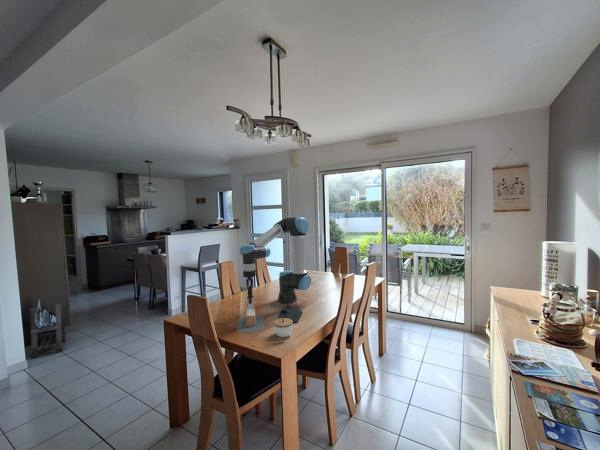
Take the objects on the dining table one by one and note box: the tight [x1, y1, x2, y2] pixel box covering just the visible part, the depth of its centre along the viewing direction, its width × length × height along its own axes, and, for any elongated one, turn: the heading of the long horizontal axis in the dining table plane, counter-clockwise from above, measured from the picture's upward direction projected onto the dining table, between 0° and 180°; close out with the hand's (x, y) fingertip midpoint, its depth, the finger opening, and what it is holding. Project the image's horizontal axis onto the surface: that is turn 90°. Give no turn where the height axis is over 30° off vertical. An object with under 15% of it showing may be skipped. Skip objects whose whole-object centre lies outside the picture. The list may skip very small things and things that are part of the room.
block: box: [245, 308, 256, 326], centre depth 167 cm, size 5×6×12 cm
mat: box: [235, 315, 266, 334], centre depth 164 cm, size 16×22×1 cm
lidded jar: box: [273, 318, 294, 338], centre depth 148 cm, size 11×11×9 cm
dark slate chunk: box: [277, 304, 303, 324], centre depth 176 cm, size 15×22×5 cm
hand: (250, 308), depth 165 cm, fingers closed
